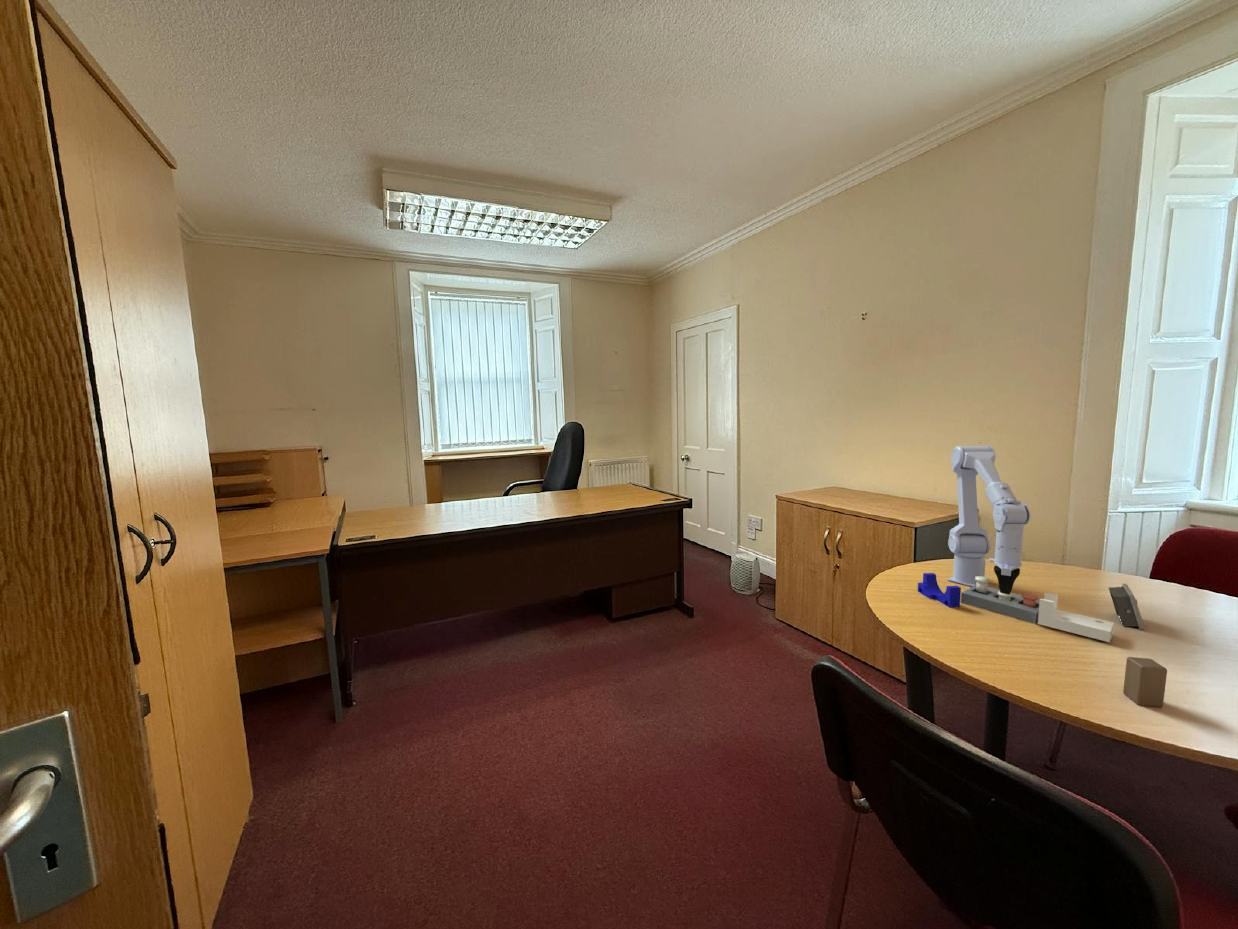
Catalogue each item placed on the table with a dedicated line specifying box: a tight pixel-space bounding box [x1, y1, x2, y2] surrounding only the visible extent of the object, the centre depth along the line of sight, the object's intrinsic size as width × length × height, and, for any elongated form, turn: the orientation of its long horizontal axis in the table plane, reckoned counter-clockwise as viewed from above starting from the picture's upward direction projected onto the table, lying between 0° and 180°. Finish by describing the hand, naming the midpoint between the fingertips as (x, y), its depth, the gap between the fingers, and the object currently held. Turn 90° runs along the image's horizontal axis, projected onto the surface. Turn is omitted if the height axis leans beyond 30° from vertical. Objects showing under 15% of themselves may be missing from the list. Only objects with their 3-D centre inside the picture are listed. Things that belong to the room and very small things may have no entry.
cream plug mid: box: [997, 591, 1013, 601], centre depth 134 cm, size 3×3×4 cm
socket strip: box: [960, 585, 1040, 625], centre depth 134 cm, size 11×17×3 cm, turn 33°
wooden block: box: [1122, 656, 1168, 708], centre depth 92 cm, size 4×4×8 cm
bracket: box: [1037, 591, 1115, 643], centre depth 120 cm, size 13×7×8 cm, turn 39°
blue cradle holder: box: [917, 572, 962, 609], centre depth 141 cm, size 12×4×6 cm, turn 0°
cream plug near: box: [975, 576, 991, 593], centre depth 138 cm, size 3×3×4 cm
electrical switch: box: [1108, 583, 1145, 630], centre depth 124 cm, size 9×5×9 cm, turn 141°
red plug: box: [1021, 592, 1039, 608], centre depth 129 cm, size 3×3×4 cm
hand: (1005, 593), depth 134 cm, fingers closed, pressing on cream plug mid
